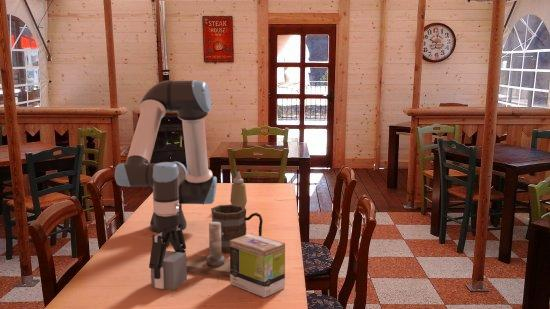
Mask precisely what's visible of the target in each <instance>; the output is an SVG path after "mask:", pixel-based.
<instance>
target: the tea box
mask: <svg viewBox="0 0 550 309" xmlns="http://www.w3.org/2000/svg"><path fill="white" fill-rule="evenodd" d="M229 259H230V278H229V280H230V285H233V286H235V287H237V288H239V289H242V290H245V291H246V292H250V293H253V294H254V295H257V296H259V297H261V298H266V297H269V296H271V295H273V294H276V293H277V292H280V291H281V290H283V289H285V285H286V243H285V242H283V241H278V240H275V239H272V238H270V237H264V236H259V234H258V235H257V234H253V233H248V234H246V235H245V236H242V237H239V238H236V239H233V240H230V254H229Z"/></svg>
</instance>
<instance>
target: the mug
mask: <svg viewBox="0 0 550 309" xmlns="http://www.w3.org/2000/svg"><path fill="white" fill-rule="evenodd" d="M210 210H211V222H220V223H221V254H224V255H227V254H228V255H230V240H233V239H236V238H239V237H242V236H245V235H247V221H250V220H251V219H252V218H253V217H258V218H259V222H258V223H259V225H258V236H262V233H263V221H264V220H263V218H262V217H263V216H262V214H260V213H258V212H253V213H251V214H250V215H249V216H246V215H247V209H246V206H245V207H244V206H239V205H233V204H231V203H230V204H220V205H216V206H215V207H212V208H210ZM262 237H263V236H262Z"/></svg>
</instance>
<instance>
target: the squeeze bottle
mask: <svg viewBox="0 0 550 309" xmlns="http://www.w3.org/2000/svg"><path fill="white" fill-rule="evenodd" d="M246 188H247V187H246V184H245V183H244V179H243V178H242V176H241V173H240V171H237V172H236V176H235V178H233V183H232V184H231V189H230V190H231V191H230V205H231V204H233V205H239V206H244V207H245V208H246V206H247V204H248V203H247V202H248V199H247V198H248V197H247V189H246Z"/></svg>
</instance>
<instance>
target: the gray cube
mask: <svg viewBox="0 0 550 309" xmlns="http://www.w3.org/2000/svg"><path fill="white" fill-rule="evenodd" d="M186 262H187V253H186V252H185V253H181V252H175V251H172V250H166V252H165V256H164V259H163V263H162V267H163V275H164V288H163V290H170V291H176V290H177V289H178V288H180V286H181V285H183V284H184V283H185V282H186V281H188V277H187V276H188V274H187V273H188V272H187V266H186ZM150 280H151V281H150V282H151V287H152V288H155V278H154V269H152V268H150Z"/></svg>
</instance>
